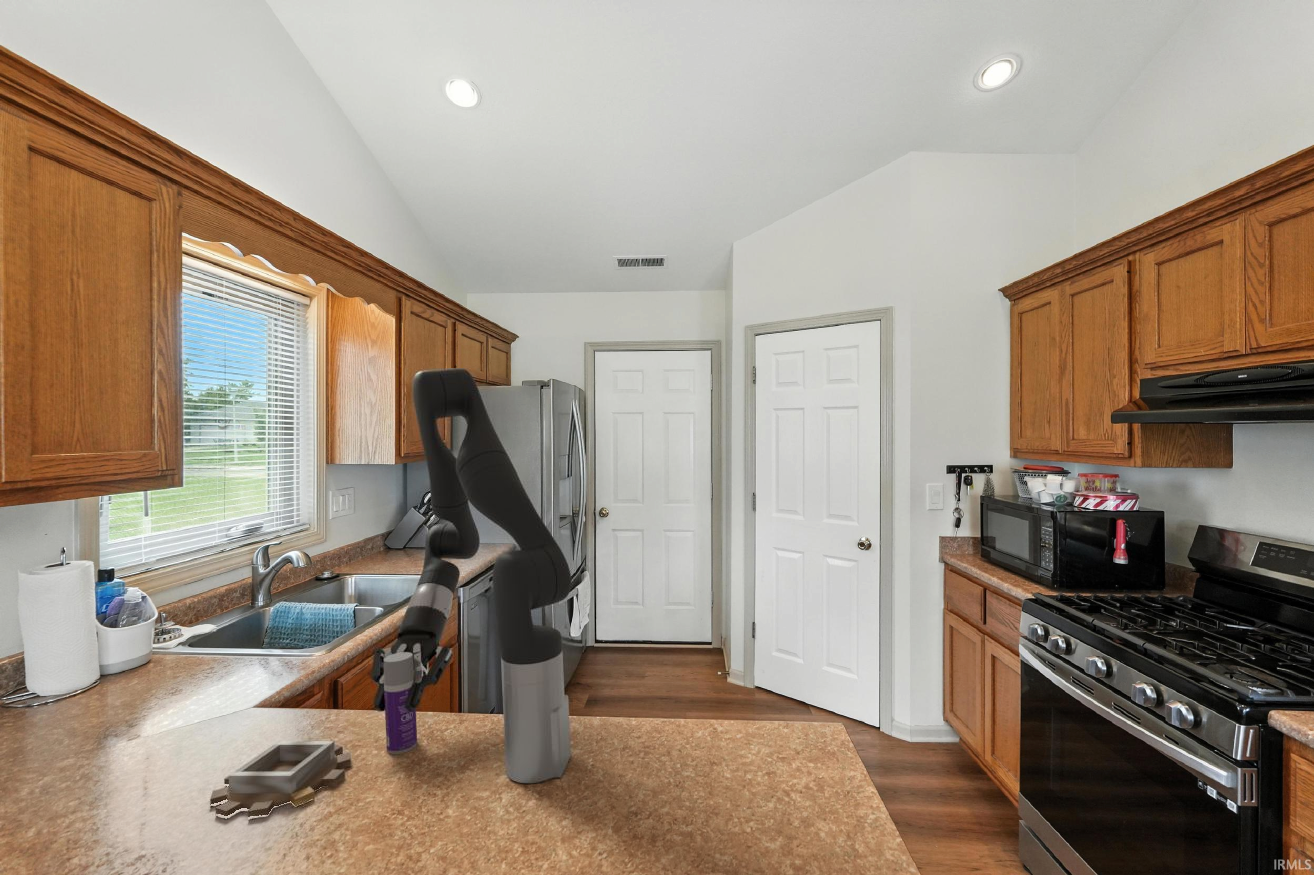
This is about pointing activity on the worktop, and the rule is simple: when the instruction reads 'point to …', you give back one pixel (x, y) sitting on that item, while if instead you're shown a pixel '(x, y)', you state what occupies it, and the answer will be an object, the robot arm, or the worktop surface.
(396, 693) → the container
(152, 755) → the worktop surface
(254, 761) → the sprocket
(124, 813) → the worktop surface
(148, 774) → the worktop surface
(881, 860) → the worktop surface
